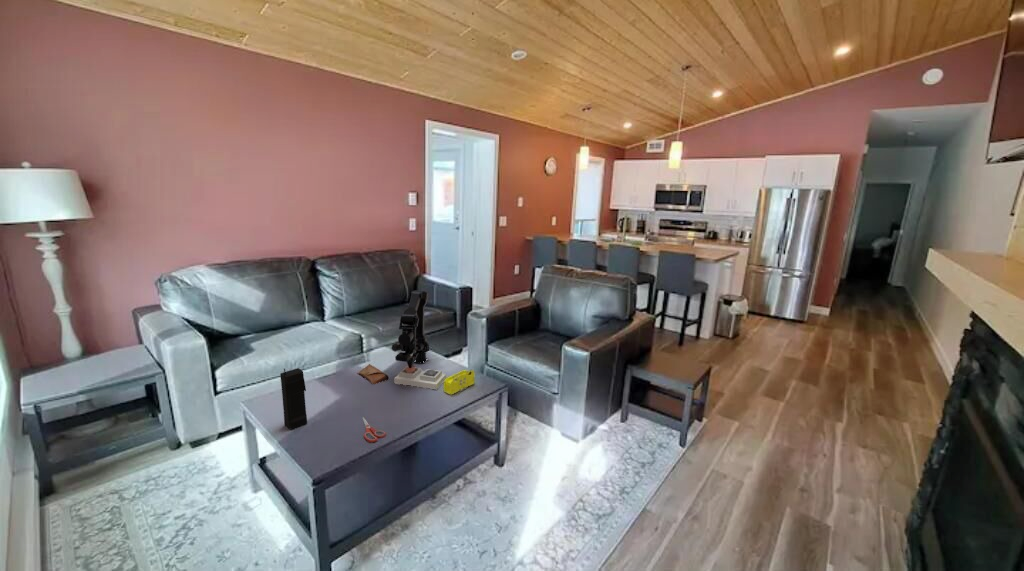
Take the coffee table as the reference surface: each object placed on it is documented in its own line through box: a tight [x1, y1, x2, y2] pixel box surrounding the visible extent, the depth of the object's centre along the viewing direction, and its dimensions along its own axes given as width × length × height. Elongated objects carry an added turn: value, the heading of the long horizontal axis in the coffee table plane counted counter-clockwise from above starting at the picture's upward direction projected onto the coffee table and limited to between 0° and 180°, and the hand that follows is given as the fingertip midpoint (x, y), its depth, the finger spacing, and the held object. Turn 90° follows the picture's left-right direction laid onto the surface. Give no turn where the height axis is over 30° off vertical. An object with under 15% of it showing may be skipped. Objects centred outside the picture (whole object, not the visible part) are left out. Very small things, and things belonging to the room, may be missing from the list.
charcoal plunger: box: [426, 369, 436, 377], centre depth 204 cm, size 4×4×3 cm
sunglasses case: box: [356, 363, 389, 385], centre depth 210 cm, size 18×7×7 cm, turn 47°
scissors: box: [362, 417, 387, 444], centre depth 165 cm, size 8×21×2 cm, turn 45°
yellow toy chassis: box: [443, 369, 476, 395], centre depth 200 cm, size 16×6×8 cm, turn 142°
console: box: [393, 365, 447, 391], centre depth 206 cm, size 12×22×5 cm, turn 77°
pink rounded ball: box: [405, 365, 416, 374], centre depth 207 cm, size 4×4×3 cm
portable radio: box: [280, 368, 308, 430], centre depth 164 cm, size 8×6×25 cm
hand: (410, 367), depth 206 cm, fingers closed, pressing on pink rounded ball
